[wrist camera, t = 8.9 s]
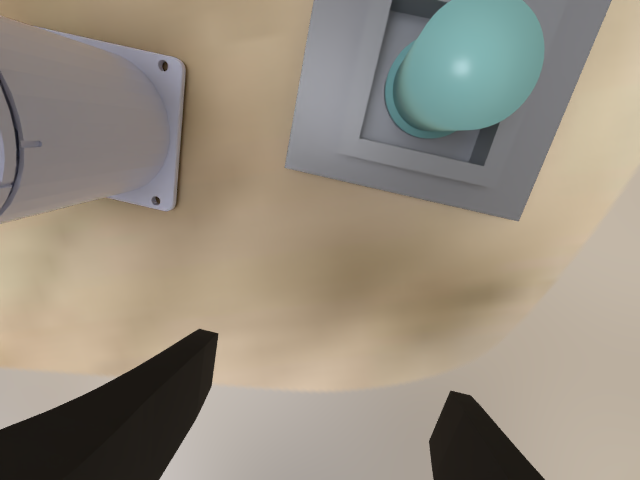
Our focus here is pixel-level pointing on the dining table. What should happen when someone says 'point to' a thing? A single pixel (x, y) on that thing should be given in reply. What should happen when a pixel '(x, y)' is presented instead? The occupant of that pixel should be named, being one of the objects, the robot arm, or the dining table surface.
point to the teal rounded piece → (466, 68)
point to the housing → (427, 153)
